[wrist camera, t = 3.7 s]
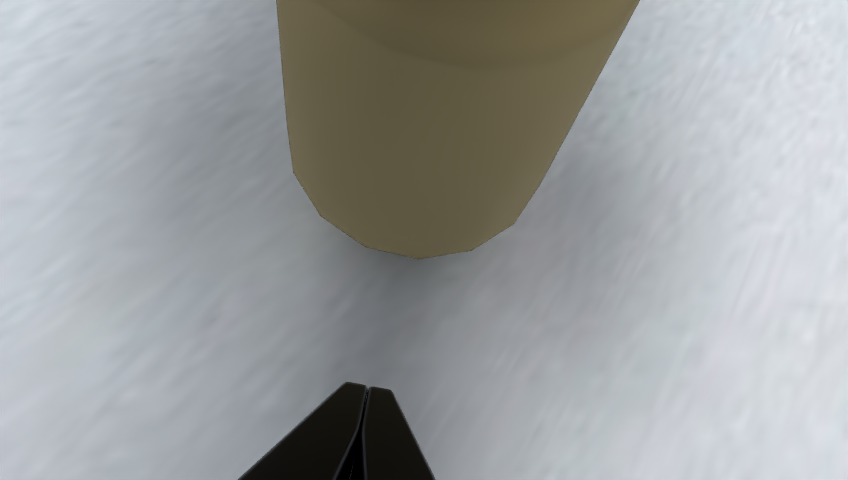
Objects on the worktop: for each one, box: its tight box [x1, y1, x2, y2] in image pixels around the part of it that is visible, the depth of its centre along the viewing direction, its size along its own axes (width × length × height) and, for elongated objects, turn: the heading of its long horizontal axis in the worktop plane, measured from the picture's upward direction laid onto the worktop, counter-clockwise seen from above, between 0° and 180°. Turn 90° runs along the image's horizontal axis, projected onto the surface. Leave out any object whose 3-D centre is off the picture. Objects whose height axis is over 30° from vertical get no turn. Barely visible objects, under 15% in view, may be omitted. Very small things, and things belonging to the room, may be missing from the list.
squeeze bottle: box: [276, 0, 640, 259], centre depth 11 cm, size 8×8×18 cm
